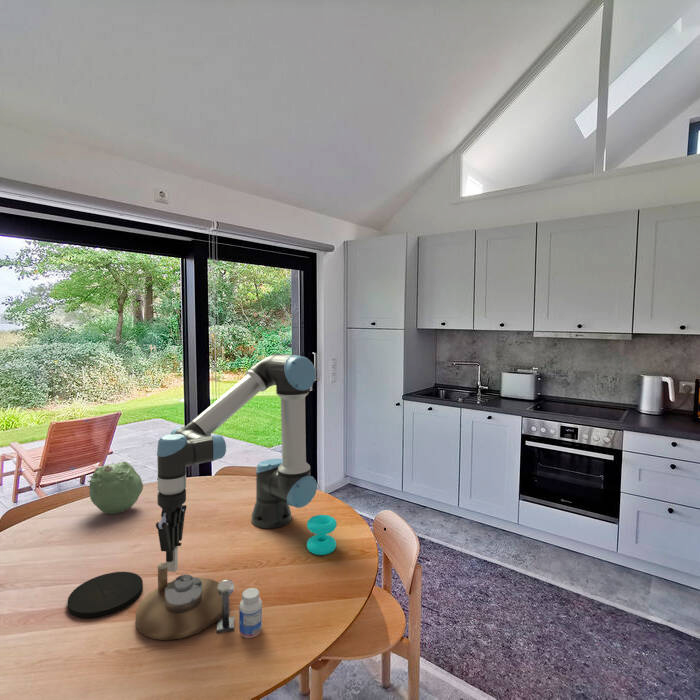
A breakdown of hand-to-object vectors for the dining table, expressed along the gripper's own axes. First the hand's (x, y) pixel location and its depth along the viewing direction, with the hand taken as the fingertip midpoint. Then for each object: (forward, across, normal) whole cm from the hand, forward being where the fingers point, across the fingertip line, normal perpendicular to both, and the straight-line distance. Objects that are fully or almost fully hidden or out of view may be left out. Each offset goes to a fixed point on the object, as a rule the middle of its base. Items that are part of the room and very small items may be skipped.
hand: (171, 569), depth 121 cm
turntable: (+4, +11, +9) cm, 15 cm away
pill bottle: (+4, +15, +29) cm, 33 cm away
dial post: (+4, +15, +22) cm, 27 cm away
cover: (+2, +10, +9) cm, 14 cm away
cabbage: (+4, -41, -45) cm, 61 cm away
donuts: (+4, -25, +40) cm, 47 cm away
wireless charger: (+5, +8, -14) cm, 17 cm away
